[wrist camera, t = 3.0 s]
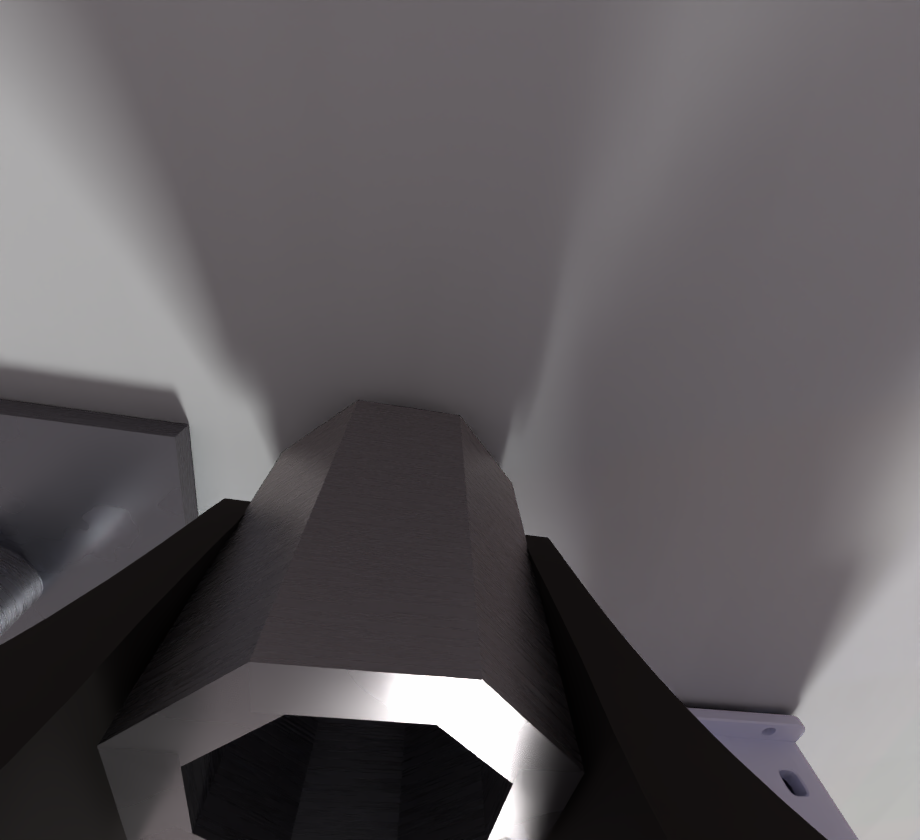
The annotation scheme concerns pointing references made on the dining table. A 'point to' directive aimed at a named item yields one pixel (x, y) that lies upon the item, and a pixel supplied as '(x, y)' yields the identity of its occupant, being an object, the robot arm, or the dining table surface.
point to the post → (82, 502)
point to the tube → (357, 658)
